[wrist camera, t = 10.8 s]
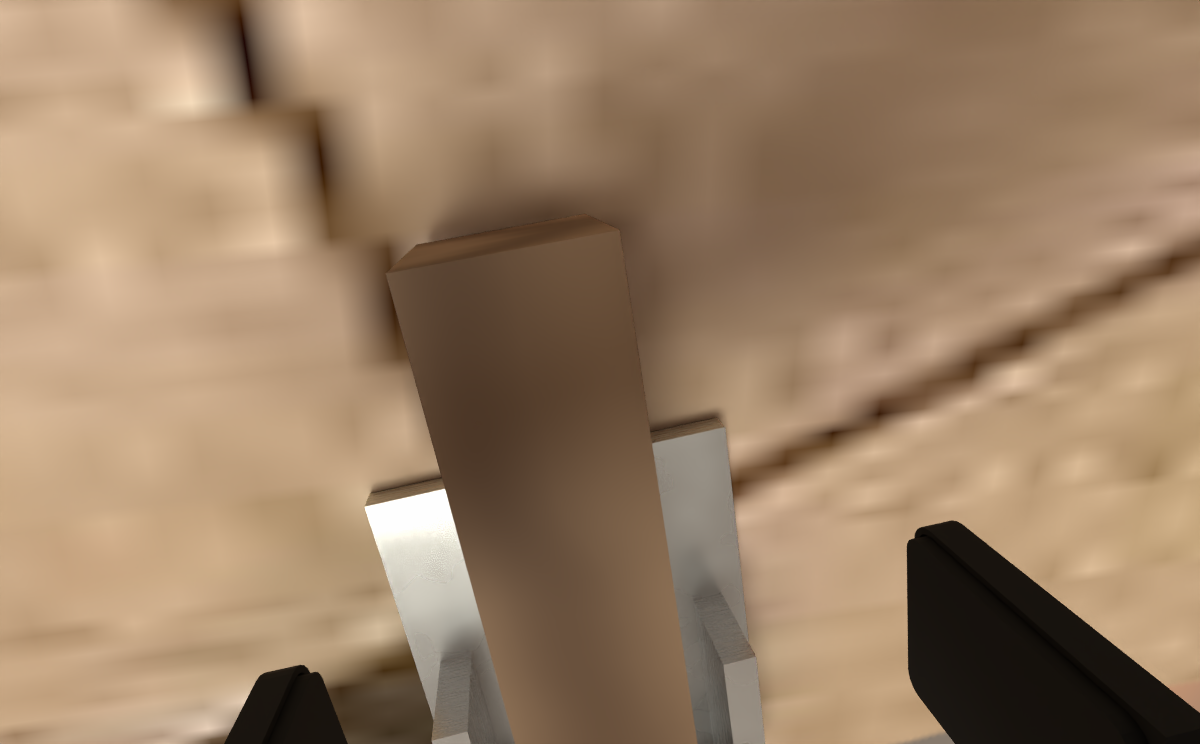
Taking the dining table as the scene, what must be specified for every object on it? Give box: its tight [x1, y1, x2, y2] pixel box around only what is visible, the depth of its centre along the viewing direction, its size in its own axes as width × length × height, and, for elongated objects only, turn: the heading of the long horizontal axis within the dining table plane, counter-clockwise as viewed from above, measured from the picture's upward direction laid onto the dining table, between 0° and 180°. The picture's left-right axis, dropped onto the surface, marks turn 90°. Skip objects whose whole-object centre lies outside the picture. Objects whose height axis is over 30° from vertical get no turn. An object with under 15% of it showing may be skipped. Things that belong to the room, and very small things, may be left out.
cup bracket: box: [365, 418, 765, 744], centre depth 20 cm, size 11×14×4 cm
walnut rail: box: [386, 214, 698, 744], centre depth 17 cm, size 4×18×5 cm, turn 9°
